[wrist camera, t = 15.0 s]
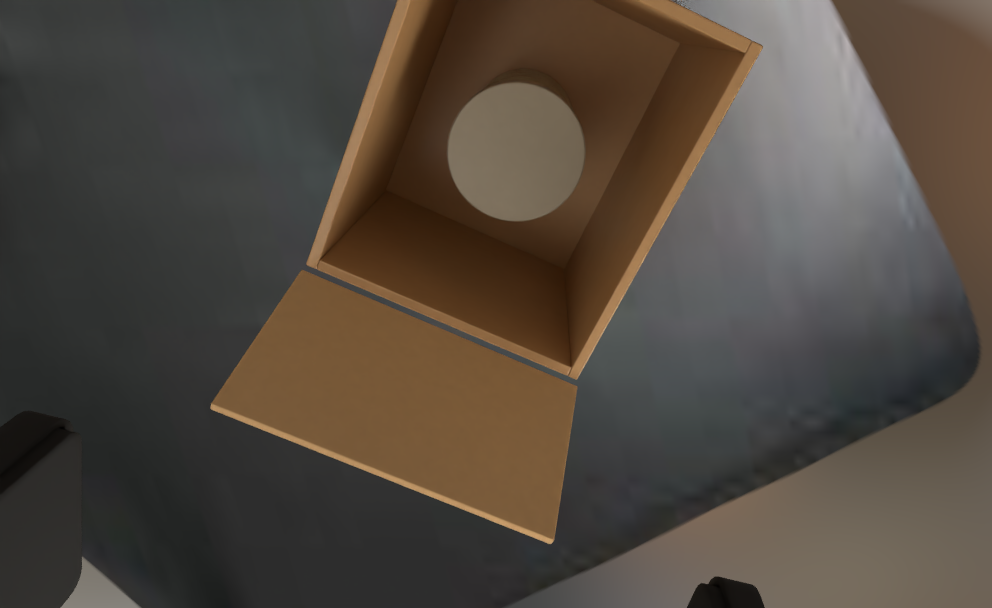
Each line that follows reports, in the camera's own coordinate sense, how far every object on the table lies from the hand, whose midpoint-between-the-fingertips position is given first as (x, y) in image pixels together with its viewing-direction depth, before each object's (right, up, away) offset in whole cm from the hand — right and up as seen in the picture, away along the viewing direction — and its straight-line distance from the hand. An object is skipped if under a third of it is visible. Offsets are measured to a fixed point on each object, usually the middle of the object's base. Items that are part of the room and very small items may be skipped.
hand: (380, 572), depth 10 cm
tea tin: (+3, +13, +23) cm, 26 cm away
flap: (-1, +1, +12) cm, 12 cm away
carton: (+3, +13, +23) cm, 27 cm away
